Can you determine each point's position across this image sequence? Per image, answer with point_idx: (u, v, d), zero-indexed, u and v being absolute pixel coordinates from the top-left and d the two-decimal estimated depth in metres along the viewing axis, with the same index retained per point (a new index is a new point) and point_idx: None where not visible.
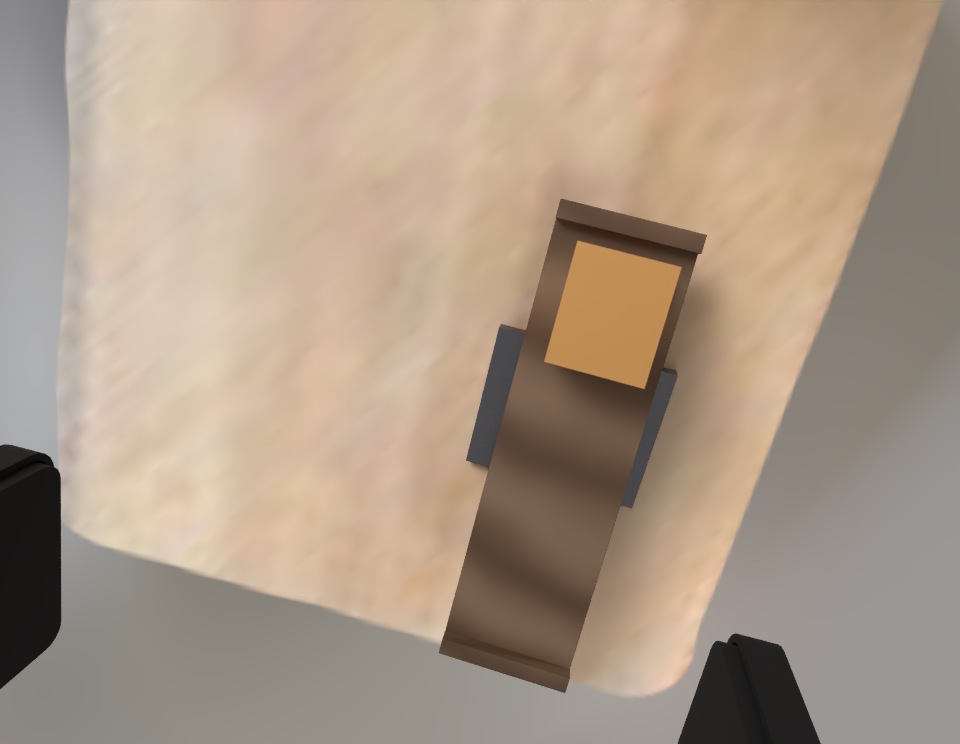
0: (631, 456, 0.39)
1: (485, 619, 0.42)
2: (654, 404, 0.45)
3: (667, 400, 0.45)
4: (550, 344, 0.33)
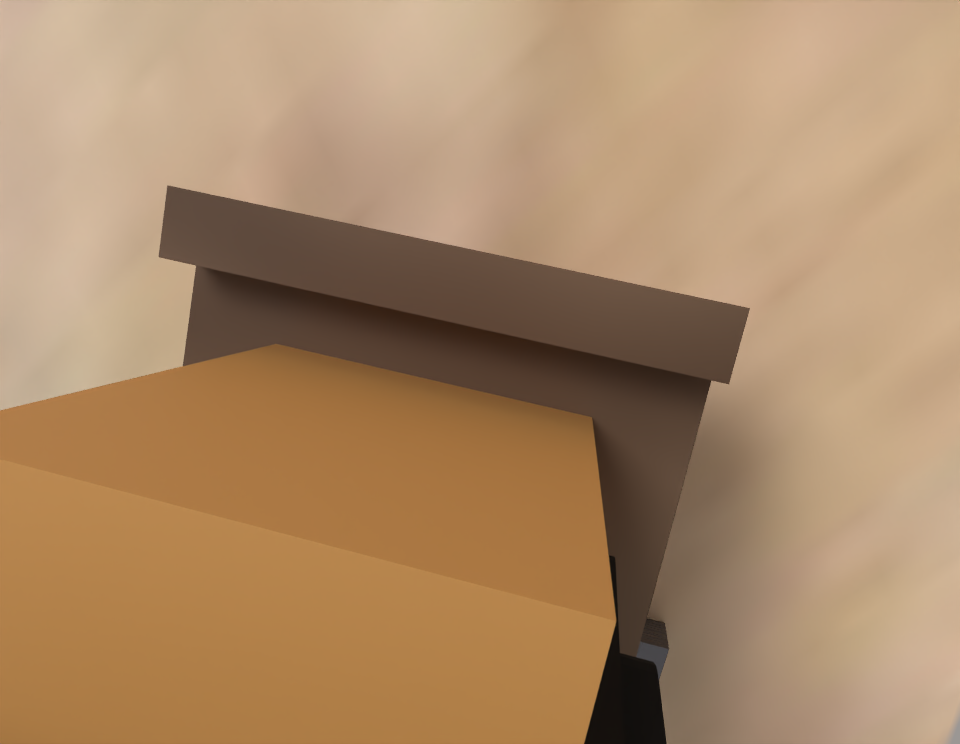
0: None
1: None
2: None
3: None
4: None
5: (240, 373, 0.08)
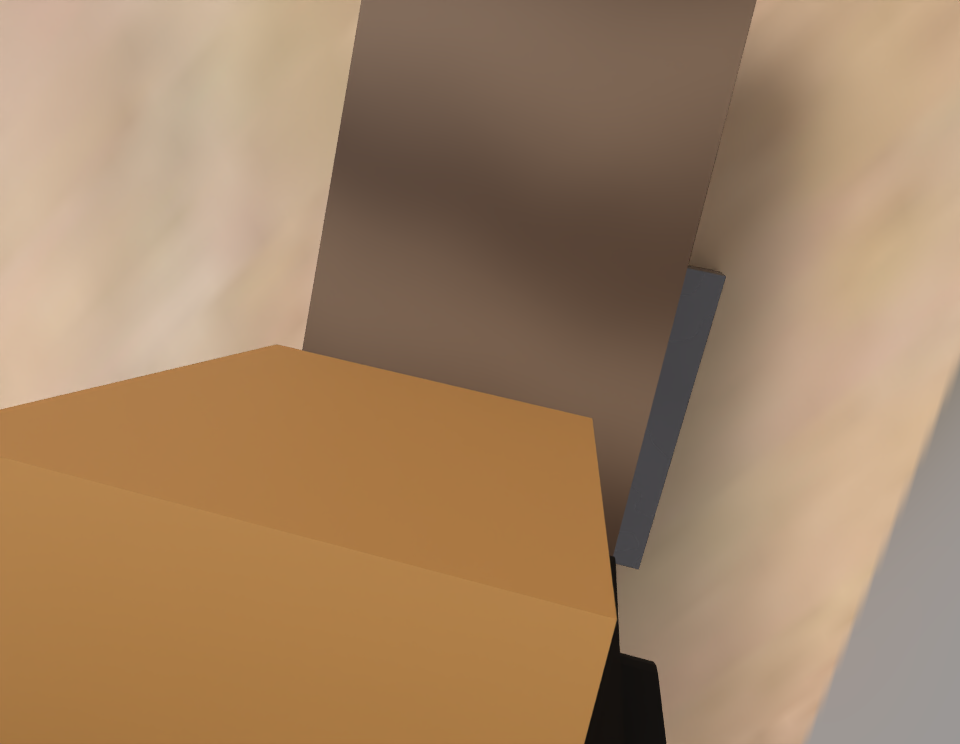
0: (627, 461, 0.15)
1: None
2: (677, 346, 0.21)
3: (705, 335, 0.20)
4: None
5: (241, 373, 0.08)
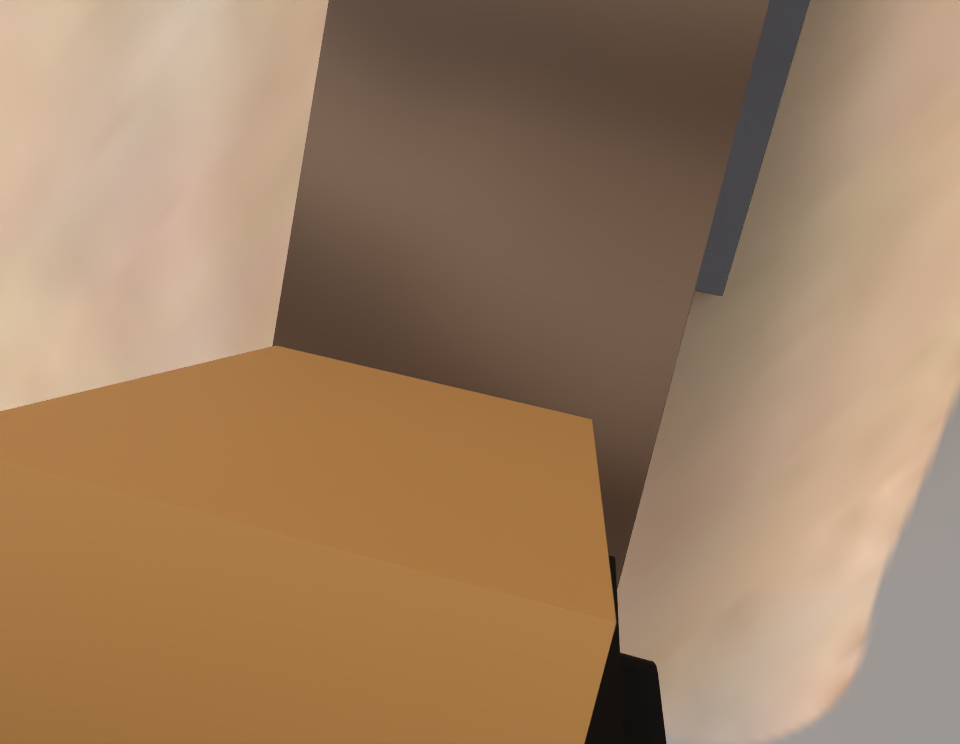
0: None
1: None
2: None
3: None
4: None
5: (240, 375, 0.08)
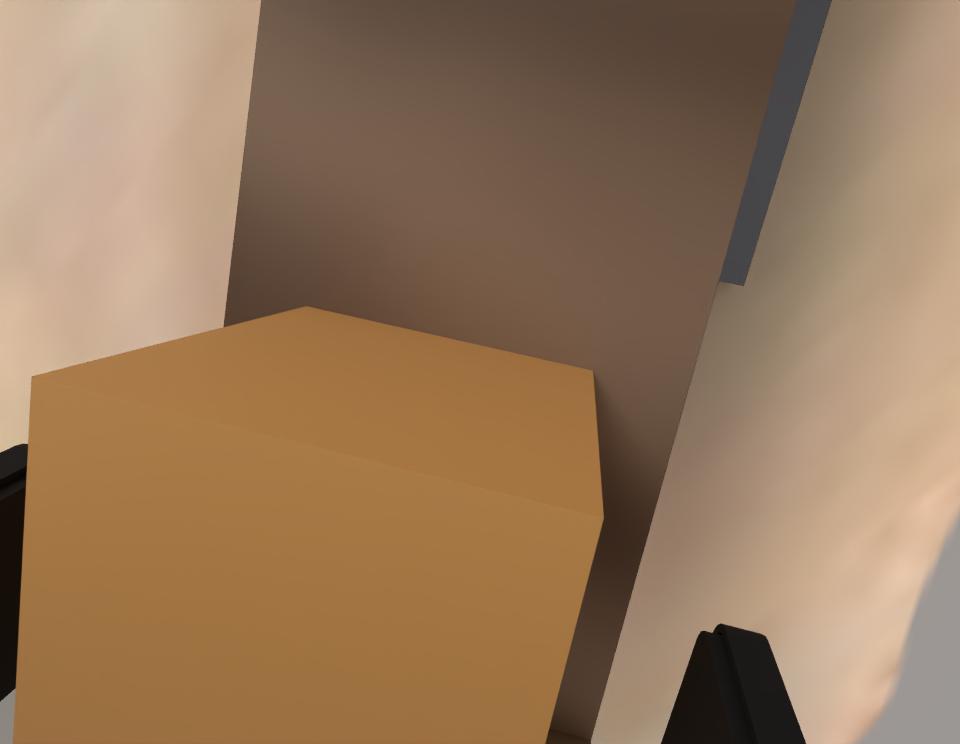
0: None
1: None
2: None
3: None
4: None
5: (280, 331, 0.09)
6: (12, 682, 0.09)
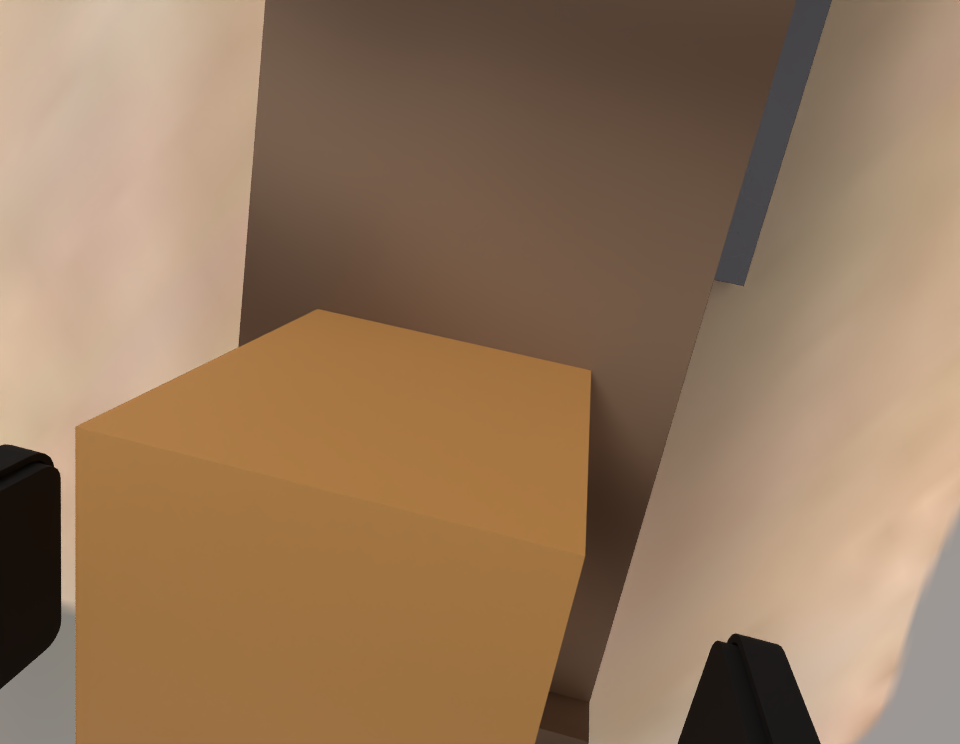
0: None
1: None
2: None
3: None
4: None
5: (294, 346, 0.10)
6: None
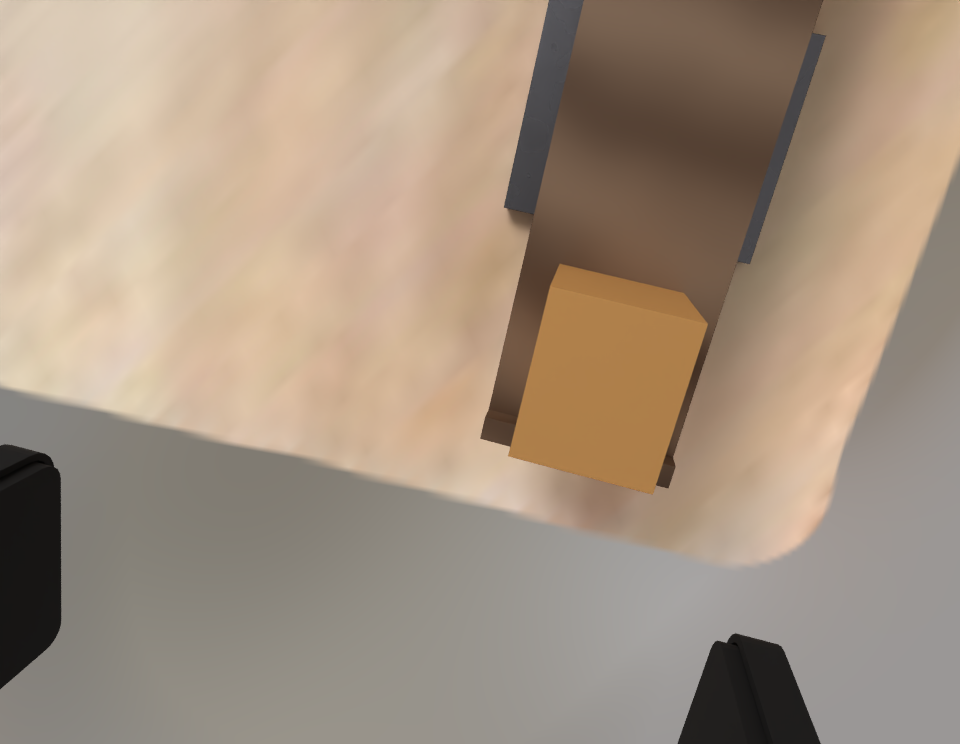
0: (781, 107, 0.24)
1: None
2: None
3: (808, 80, 0.30)
4: (516, 433, 0.23)
5: (571, 274, 0.25)
6: None
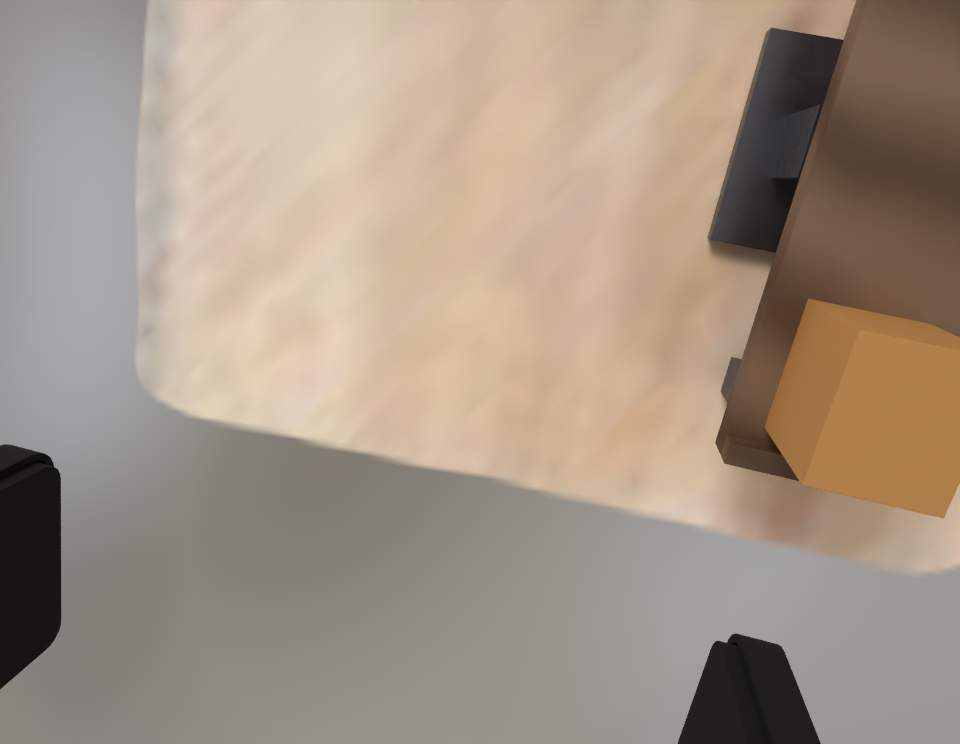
0: None
1: None
2: None
3: None
4: (812, 463, 0.25)
5: (839, 311, 0.27)
6: None
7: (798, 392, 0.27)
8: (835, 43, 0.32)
